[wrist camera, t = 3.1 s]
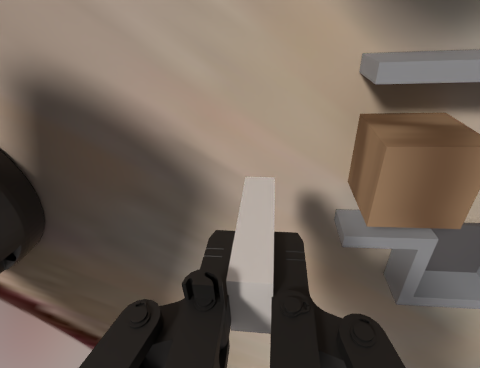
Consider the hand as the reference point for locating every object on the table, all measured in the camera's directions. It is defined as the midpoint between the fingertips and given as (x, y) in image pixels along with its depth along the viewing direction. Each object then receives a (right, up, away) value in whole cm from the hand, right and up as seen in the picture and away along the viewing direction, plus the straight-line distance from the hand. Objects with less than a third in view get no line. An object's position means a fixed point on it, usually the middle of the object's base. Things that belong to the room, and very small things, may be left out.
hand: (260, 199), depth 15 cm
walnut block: (+9, +3, +4) cm, 10 cm away
